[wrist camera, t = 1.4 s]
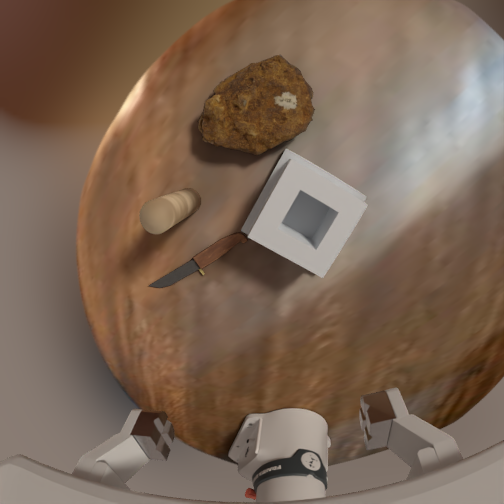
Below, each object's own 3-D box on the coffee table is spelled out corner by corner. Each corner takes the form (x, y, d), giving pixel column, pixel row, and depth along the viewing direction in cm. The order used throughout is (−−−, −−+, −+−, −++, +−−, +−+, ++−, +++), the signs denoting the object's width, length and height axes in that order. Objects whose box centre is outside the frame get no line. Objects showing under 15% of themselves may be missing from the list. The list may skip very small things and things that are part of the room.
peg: (194, 217, 41) (163, 240, 29) (172, 206, 40) (134, 224, 29) (205, 195, 40) (177, 209, 28) (183, 183, 40) (147, 193, 28)
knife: (158, 303, 44) (146, 287, 44) (161, 300, 45) (149, 284, 45) (251, 246, 41) (238, 227, 40) (252, 244, 42) (239, 225, 41)
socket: (319, 271, 41) (325, 288, 36) (241, 229, 41) (235, 240, 35) (364, 195, 38) (379, 201, 32) (285, 148, 37) (287, 146, 31)
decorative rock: (232, 178, 40) (326, 117, 37) (229, 181, 36) (334, 113, 33) (183, 110, 37) (277, 50, 34) (175, 106, 33) (279, 39, 30)
